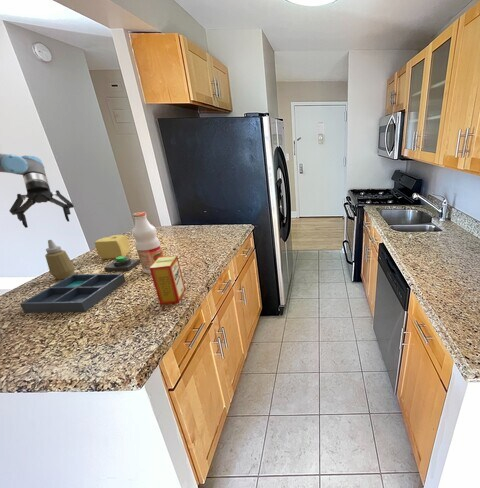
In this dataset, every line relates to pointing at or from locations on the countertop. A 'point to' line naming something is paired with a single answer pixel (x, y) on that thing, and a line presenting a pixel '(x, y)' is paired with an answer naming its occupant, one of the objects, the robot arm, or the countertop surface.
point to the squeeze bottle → (58, 261)
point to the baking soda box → (168, 279)
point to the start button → (120, 258)
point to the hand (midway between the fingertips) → (47, 223)
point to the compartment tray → (74, 293)
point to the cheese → (112, 246)
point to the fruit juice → (146, 241)
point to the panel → (122, 265)
